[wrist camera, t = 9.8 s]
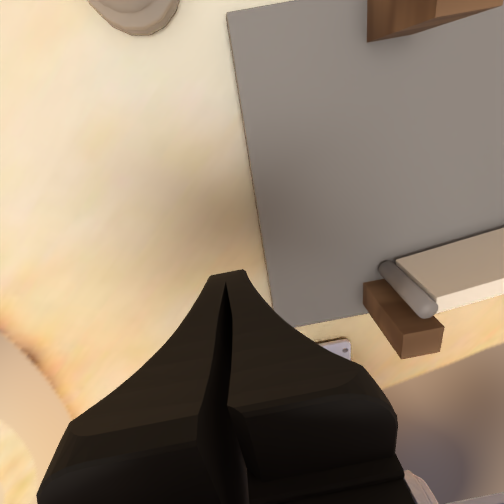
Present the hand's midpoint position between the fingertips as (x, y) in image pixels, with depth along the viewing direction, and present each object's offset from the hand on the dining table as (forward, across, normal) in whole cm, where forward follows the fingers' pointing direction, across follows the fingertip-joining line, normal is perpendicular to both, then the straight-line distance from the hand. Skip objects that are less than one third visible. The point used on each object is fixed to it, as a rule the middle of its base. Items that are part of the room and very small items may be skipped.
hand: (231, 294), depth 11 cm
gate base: (+9, -13, 0) cm, 16 cm away
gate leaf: (+8, -16, +5) cm, 19 cm away
